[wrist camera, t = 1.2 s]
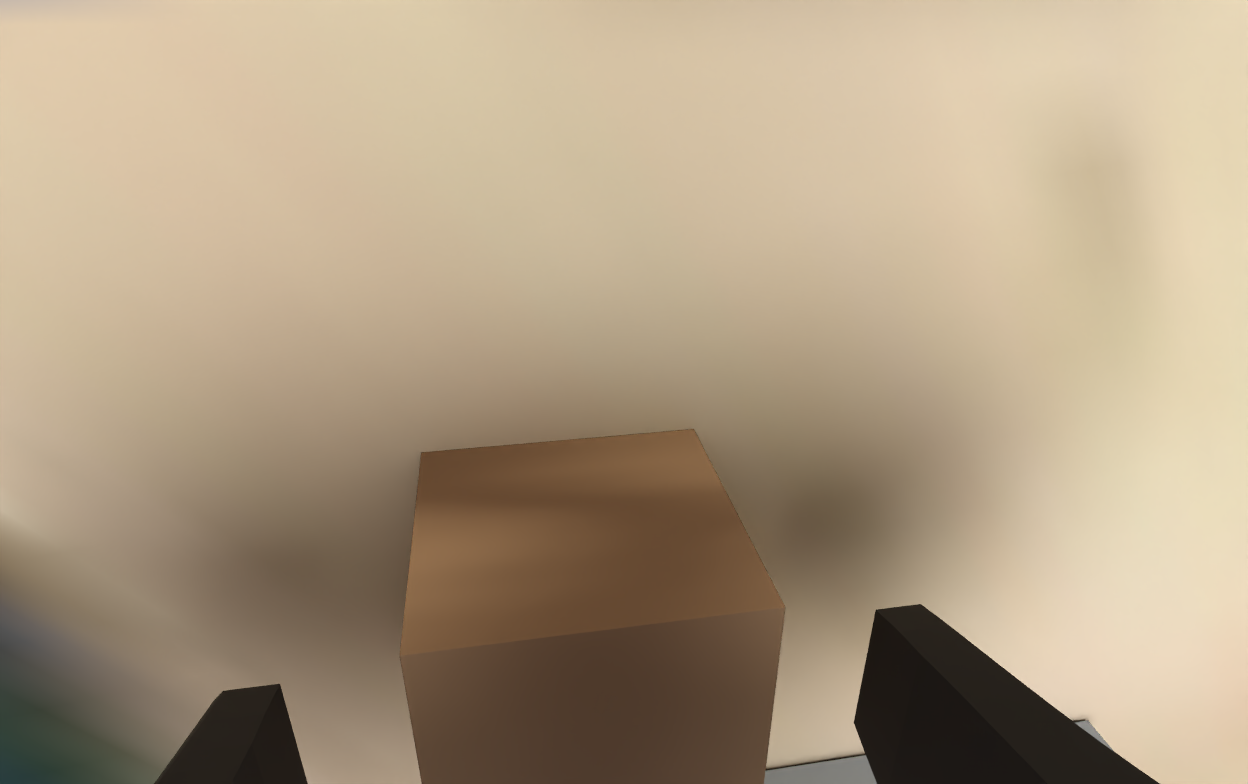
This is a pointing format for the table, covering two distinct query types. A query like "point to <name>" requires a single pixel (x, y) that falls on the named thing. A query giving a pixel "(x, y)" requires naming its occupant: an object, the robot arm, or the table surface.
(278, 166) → the table surface
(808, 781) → the mat
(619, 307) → the table surface
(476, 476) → the walnut cube
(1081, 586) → the table surface
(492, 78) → the table surface
